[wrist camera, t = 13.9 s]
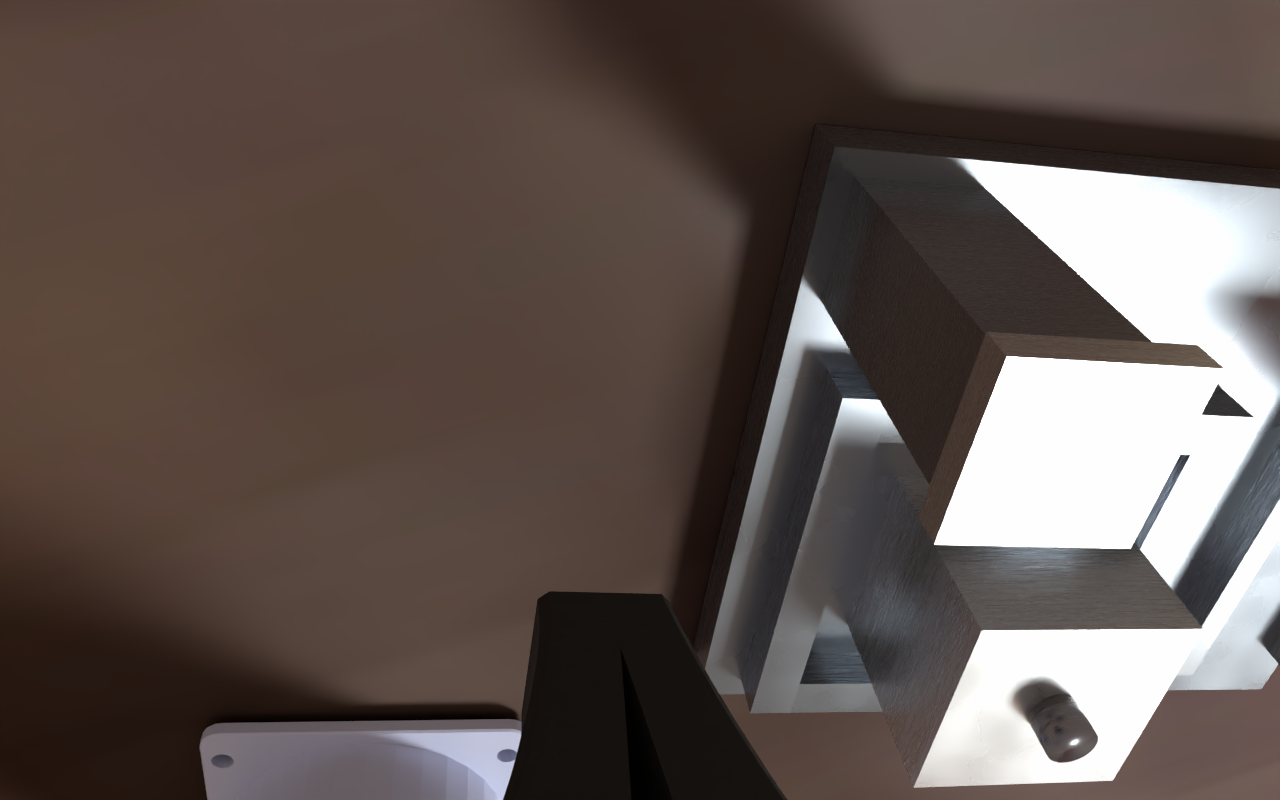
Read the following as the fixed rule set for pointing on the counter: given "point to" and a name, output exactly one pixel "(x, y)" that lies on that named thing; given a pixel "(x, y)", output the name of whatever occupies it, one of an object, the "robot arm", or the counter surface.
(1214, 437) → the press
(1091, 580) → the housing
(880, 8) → the counter surface
